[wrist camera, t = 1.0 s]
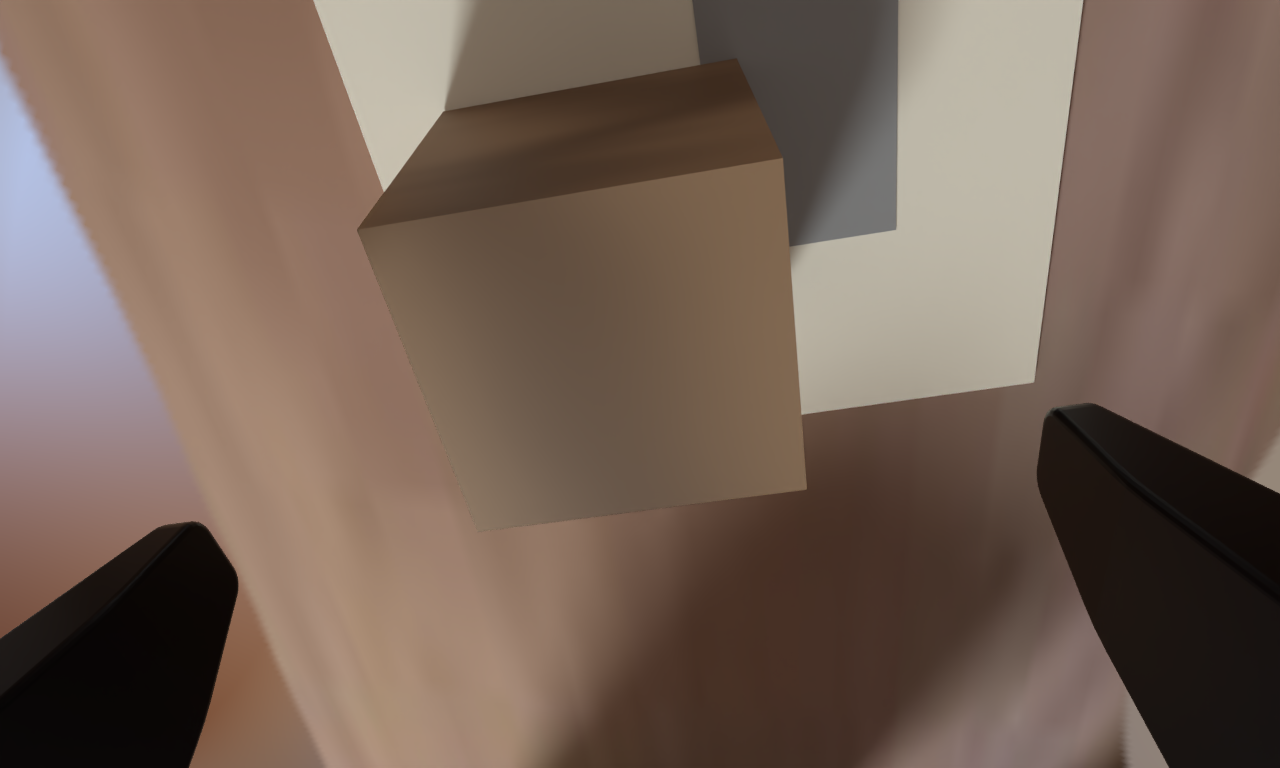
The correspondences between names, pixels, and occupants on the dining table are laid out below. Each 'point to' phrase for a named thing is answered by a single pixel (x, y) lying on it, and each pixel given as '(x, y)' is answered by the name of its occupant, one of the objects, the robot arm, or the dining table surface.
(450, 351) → the walnut block
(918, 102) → the letter
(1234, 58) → the dining table surface
